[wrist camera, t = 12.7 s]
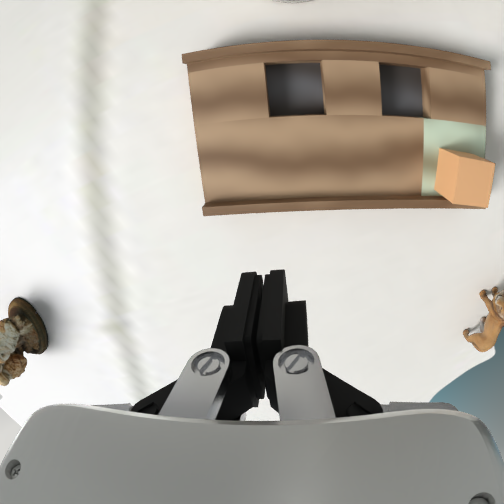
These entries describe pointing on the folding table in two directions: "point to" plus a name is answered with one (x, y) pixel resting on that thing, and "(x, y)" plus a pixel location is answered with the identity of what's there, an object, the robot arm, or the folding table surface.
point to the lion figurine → (489, 322)
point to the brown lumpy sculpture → (20, 339)
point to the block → (464, 178)
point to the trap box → (331, 124)
